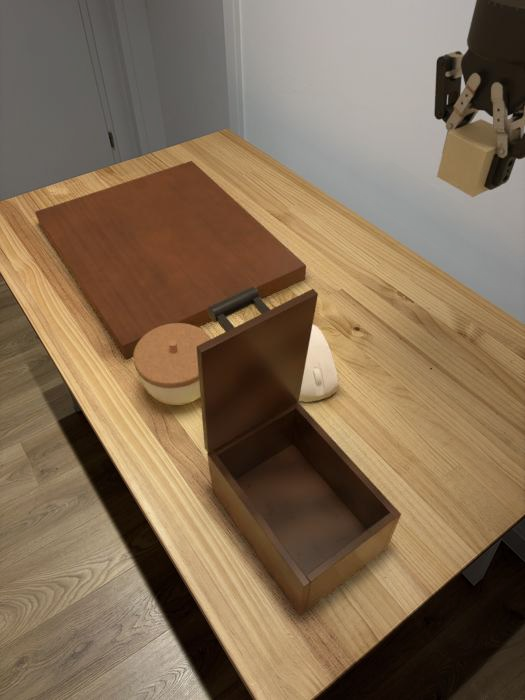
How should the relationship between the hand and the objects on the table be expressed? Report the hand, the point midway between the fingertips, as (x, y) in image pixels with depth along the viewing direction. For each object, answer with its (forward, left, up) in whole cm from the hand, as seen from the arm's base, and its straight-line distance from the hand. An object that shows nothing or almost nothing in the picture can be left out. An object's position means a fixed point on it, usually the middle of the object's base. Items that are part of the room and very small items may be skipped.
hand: (471, 174), depth 59 cm
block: (0, 0, -1) cm, 1 cm away
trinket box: (+34, +2, -31) cm, 46 cm away
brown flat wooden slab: (+37, -30, -31) cm, 57 cm away
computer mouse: (+16, 0, -31) cm, 35 cm away
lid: (+24, +16, -12) cm, 31 cm away
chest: (+20, +23, -31) cm, 43 cm away
